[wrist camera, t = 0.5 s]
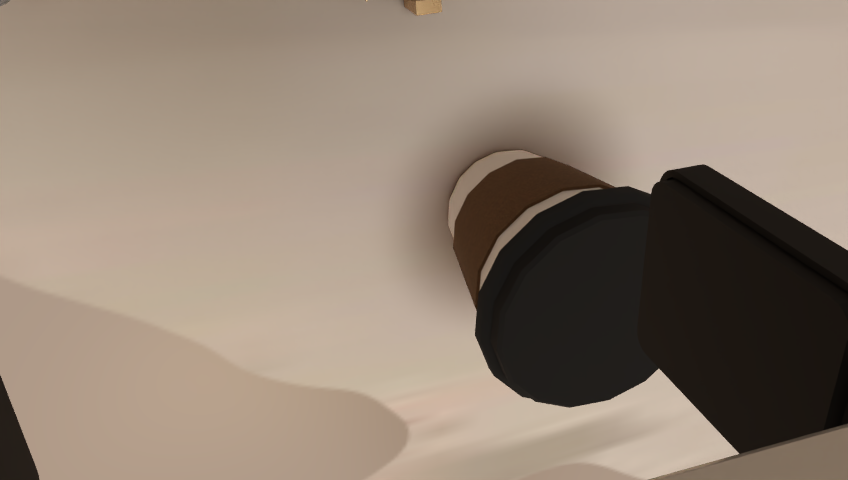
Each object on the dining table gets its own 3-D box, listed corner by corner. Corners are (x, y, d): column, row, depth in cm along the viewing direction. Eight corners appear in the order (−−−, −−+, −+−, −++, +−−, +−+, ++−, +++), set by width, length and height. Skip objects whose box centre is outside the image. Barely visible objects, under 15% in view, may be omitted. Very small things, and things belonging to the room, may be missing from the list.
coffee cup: (612, 119, 43) (753, 212, 33) (556, 288, 48) (665, 414, 38) (431, 94, 39) (529, 190, 29) (387, 281, 44) (460, 420, 34)
